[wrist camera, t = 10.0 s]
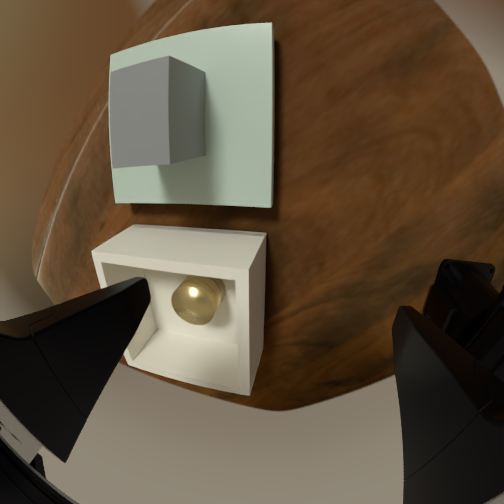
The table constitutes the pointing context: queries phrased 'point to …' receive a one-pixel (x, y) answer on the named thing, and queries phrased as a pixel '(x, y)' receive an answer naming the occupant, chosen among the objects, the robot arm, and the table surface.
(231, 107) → the lid
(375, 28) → the table surface
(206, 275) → the box
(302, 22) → the table surface
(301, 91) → the table surface
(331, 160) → the table surface
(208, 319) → the brass weight
